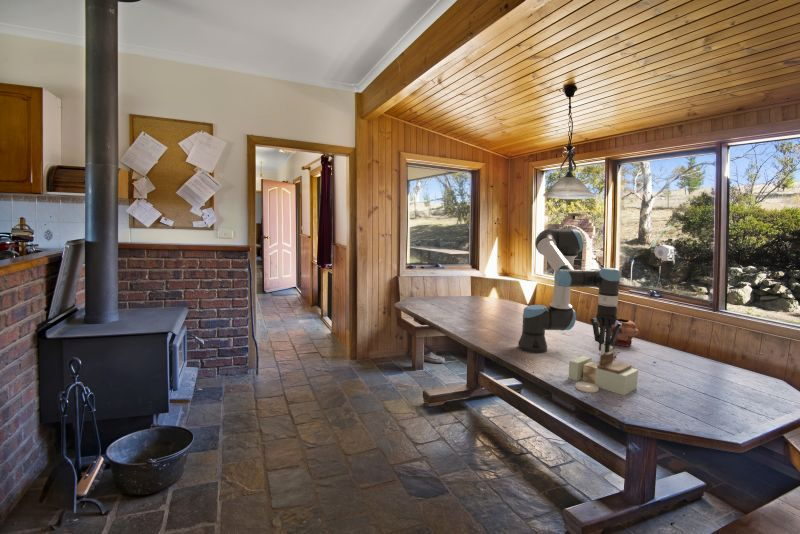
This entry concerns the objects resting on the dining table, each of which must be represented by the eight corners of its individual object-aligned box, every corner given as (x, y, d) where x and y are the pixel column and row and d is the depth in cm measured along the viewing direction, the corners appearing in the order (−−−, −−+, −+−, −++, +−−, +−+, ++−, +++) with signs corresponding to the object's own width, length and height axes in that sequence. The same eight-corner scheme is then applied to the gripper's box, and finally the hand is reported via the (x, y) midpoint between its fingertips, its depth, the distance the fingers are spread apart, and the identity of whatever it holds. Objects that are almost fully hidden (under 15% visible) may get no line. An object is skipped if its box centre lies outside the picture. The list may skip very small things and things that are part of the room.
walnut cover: (596, 367, 188) (597, 355, 187) (609, 361, 196) (610, 350, 195) (618, 373, 181) (619, 361, 181) (631, 367, 189) (632, 355, 188)
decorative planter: (596, 342, 256) (598, 318, 255) (602, 338, 266) (603, 315, 264) (635, 349, 244) (637, 324, 243) (639, 344, 254) (641, 320, 252)
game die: (612, 369, 222) (623, 357, 216) (595, 362, 224) (605, 350, 217) (612, 356, 229) (623, 344, 222) (596, 349, 230) (606, 337, 223)
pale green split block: (568, 378, 198) (569, 360, 197) (581, 372, 206) (583, 355, 205) (624, 395, 180) (625, 376, 179) (636, 388, 188) (638, 369, 187)
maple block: (582, 380, 196) (583, 364, 195) (589, 377, 200) (590, 361, 199) (596, 384, 192) (597, 368, 191) (602, 381, 196) (603, 365, 195)
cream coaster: (571, 387, 187) (571, 384, 187) (581, 382, 193) (582, 380, 193) (592, 394, 180) (592, 391, 180) (602, 389, 186) (602, 386, 186)
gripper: (588, 303, 191) (584, 356, 194) (619, 308, 182) (614, 364, 184) (596, 301, 196) (592, 353, 199) (627, 306, 187) (622, 361, 189)
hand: (603, 358), depth 192 cm, fingers closed
